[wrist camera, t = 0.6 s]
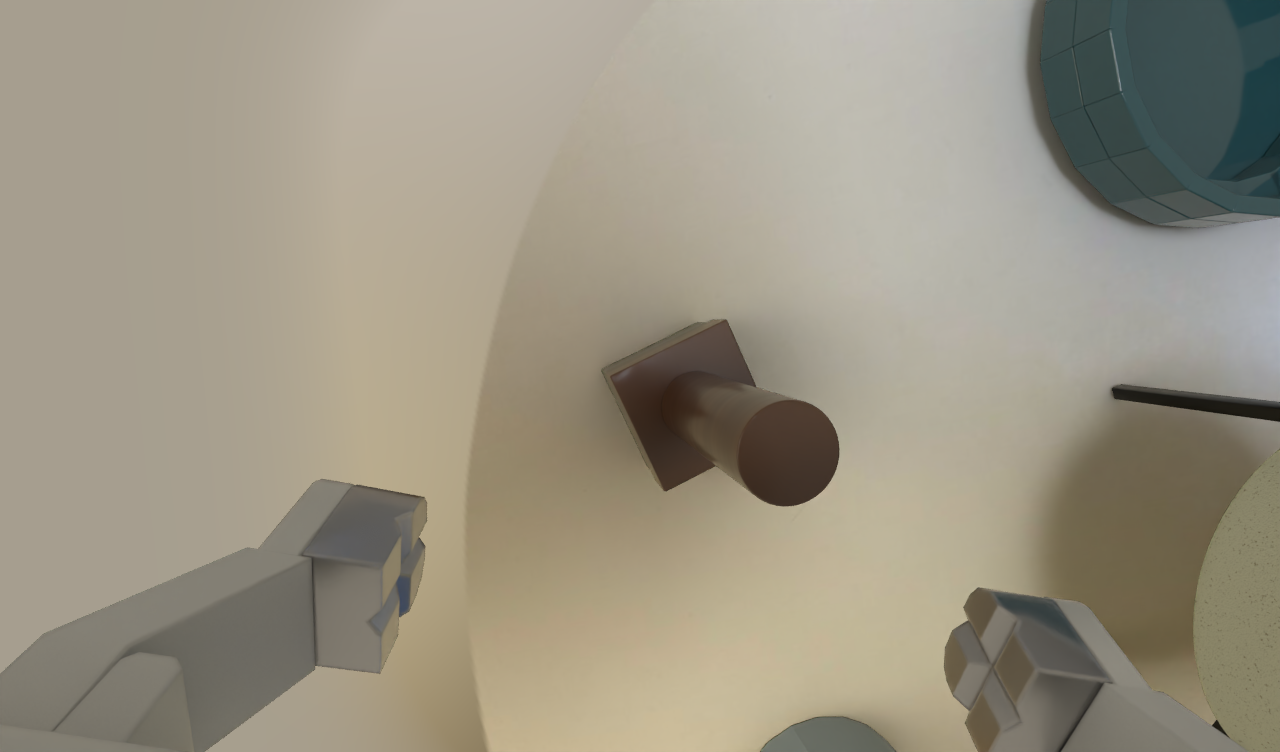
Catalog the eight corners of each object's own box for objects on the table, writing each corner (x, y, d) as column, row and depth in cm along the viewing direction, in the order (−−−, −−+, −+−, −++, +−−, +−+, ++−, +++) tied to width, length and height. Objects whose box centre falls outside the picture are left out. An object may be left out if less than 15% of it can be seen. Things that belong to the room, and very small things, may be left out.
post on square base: (597, 368, 32) (657, 408, 17) (699, 318, 32) (837, 319, 18) (646, 469, 32) (741, 586, 18) (744, 419, 33) (911, 495, 19)
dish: (995, -80, 33) (1078, -150, 28) (1287, -142, 35) (1411, -216, 30) (1061, 265, 35) (1149, 256, 30) (1333, 186, 37) (1457, 165, 32)
